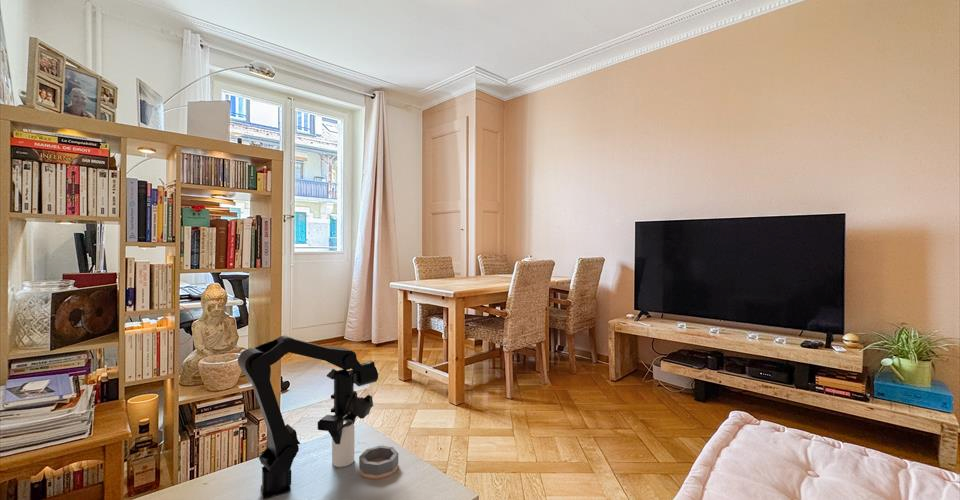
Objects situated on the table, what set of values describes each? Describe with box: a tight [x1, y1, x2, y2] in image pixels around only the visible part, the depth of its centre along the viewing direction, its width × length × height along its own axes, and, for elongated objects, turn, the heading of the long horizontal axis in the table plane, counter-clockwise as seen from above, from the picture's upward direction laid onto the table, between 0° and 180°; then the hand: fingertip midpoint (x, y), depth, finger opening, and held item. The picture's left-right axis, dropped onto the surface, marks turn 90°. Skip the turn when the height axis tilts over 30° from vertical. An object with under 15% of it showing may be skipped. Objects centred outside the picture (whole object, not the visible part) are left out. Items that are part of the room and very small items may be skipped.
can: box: [331, 419, 356, 468], centre depth 122 cm, size 6×6×12 cm
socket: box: [358, 445, 399, 480], centre depth 119 cm, size 11×11×4 cm
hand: (343, 440), depth 122 cm, fingers closed on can, 5 cm apart
